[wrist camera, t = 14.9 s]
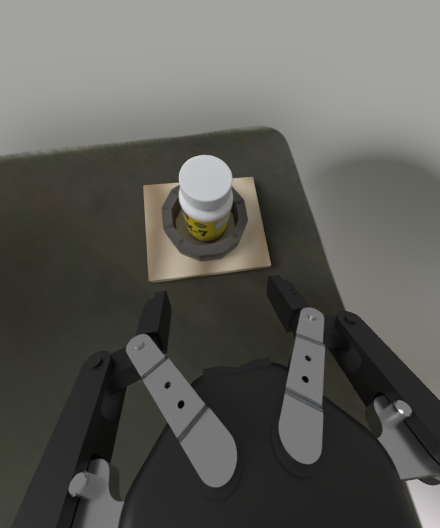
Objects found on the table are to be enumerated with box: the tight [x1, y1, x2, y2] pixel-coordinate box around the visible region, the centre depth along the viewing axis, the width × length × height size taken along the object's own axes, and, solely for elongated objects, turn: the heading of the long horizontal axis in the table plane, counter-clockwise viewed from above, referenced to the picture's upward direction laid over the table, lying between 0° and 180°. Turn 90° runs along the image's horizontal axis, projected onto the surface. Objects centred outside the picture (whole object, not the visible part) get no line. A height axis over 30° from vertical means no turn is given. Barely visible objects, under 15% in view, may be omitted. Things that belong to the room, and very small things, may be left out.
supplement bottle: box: [179, 155, 233, 243], centre depth 17 cm, size 5×5×8 cm
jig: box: [143, 177, 271, 283], centre depth 20 cm, size 14×12×4 cm
